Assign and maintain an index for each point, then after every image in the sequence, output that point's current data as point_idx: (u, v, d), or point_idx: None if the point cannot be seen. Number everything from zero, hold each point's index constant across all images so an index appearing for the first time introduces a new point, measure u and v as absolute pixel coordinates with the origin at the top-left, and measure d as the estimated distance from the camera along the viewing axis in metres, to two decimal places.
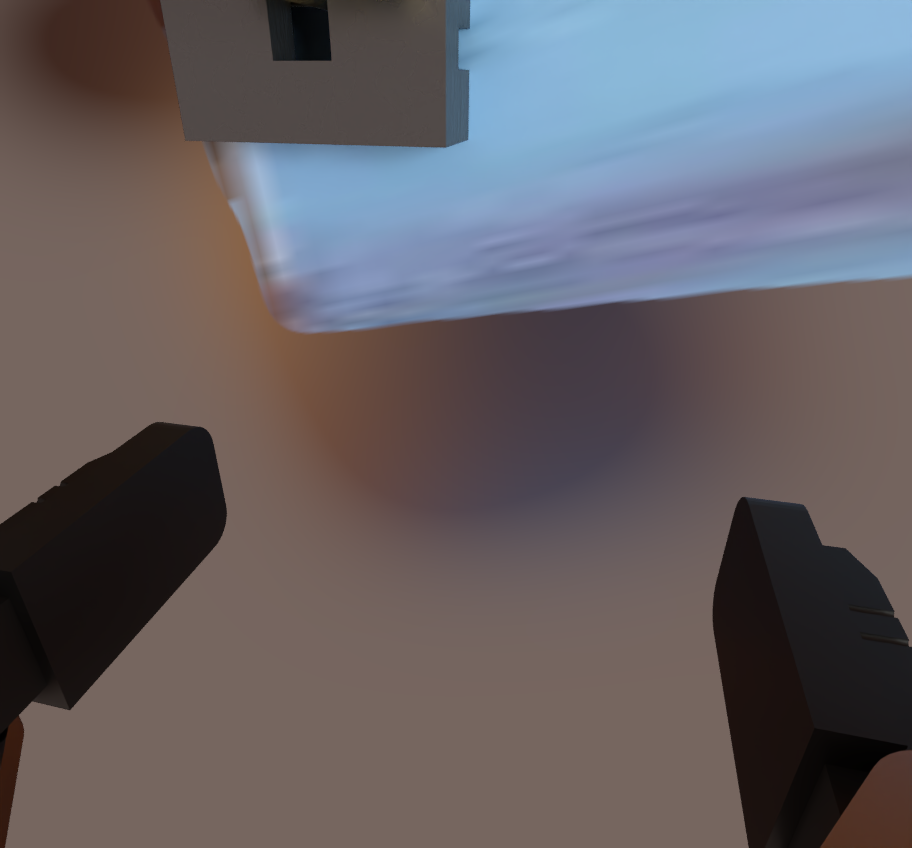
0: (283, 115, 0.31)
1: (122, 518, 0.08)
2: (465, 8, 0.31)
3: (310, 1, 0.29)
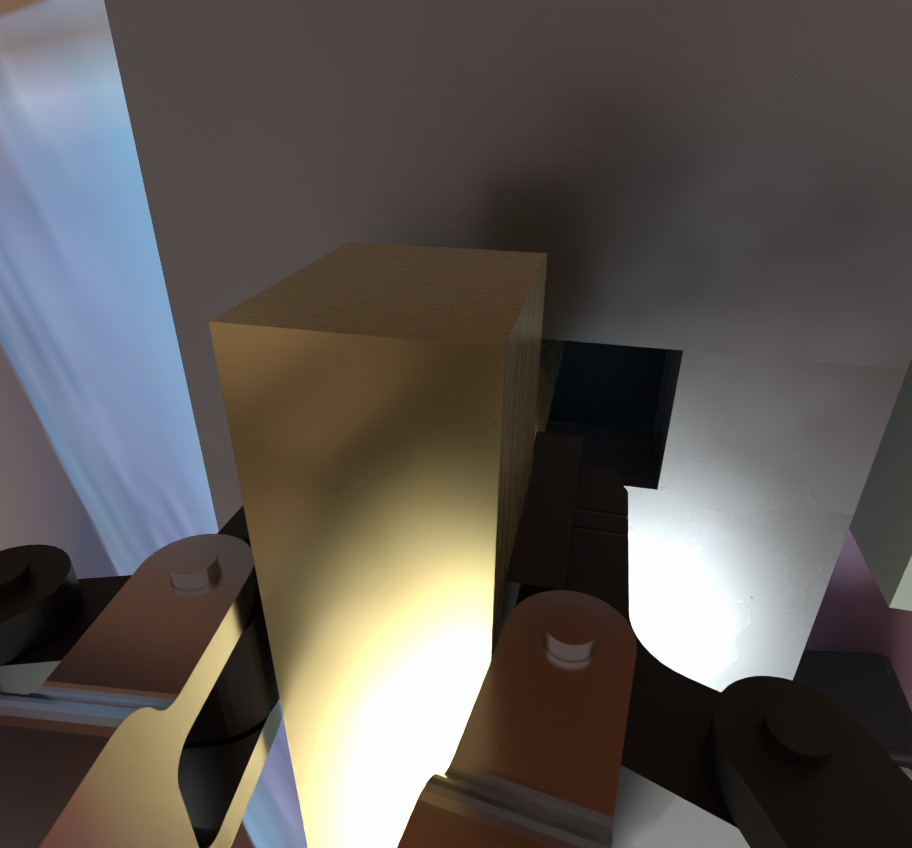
0: None
1: None
2: None
3: None
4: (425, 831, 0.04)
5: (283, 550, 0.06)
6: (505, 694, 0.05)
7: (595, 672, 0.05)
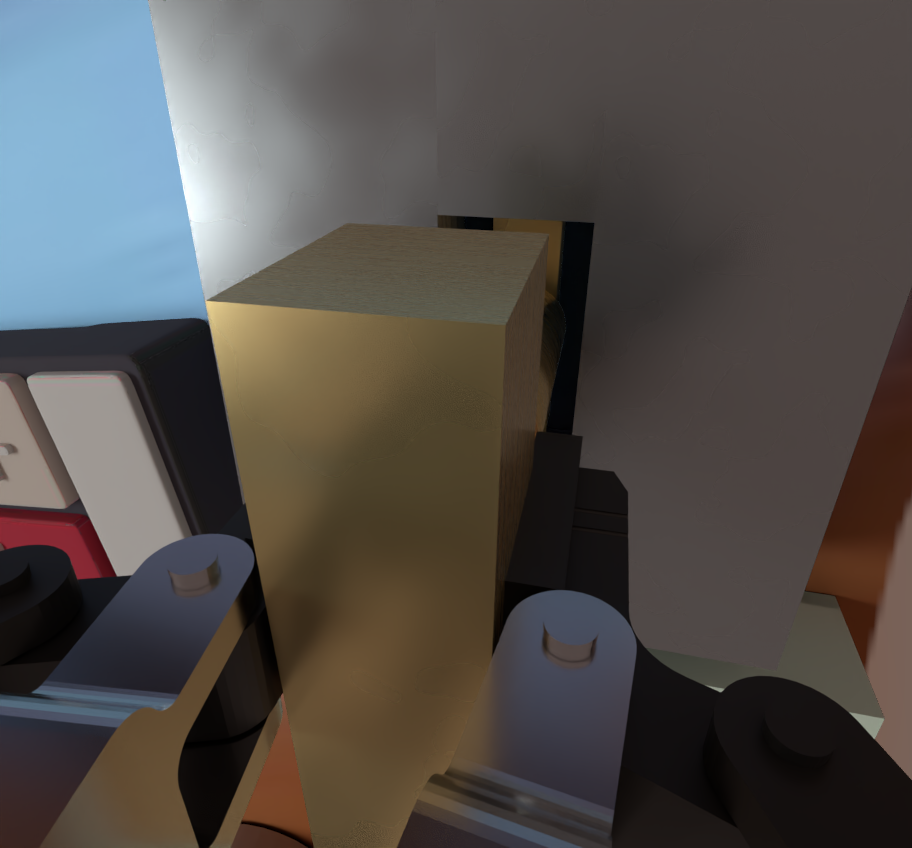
0: (595, 78, 0.11)
1: None
2: None
3: None
4: (426, 831, 0.04)
5: (283, 534, 0.06)
6: (505, 694, 0.05)
7: (595, 672, 0.05)
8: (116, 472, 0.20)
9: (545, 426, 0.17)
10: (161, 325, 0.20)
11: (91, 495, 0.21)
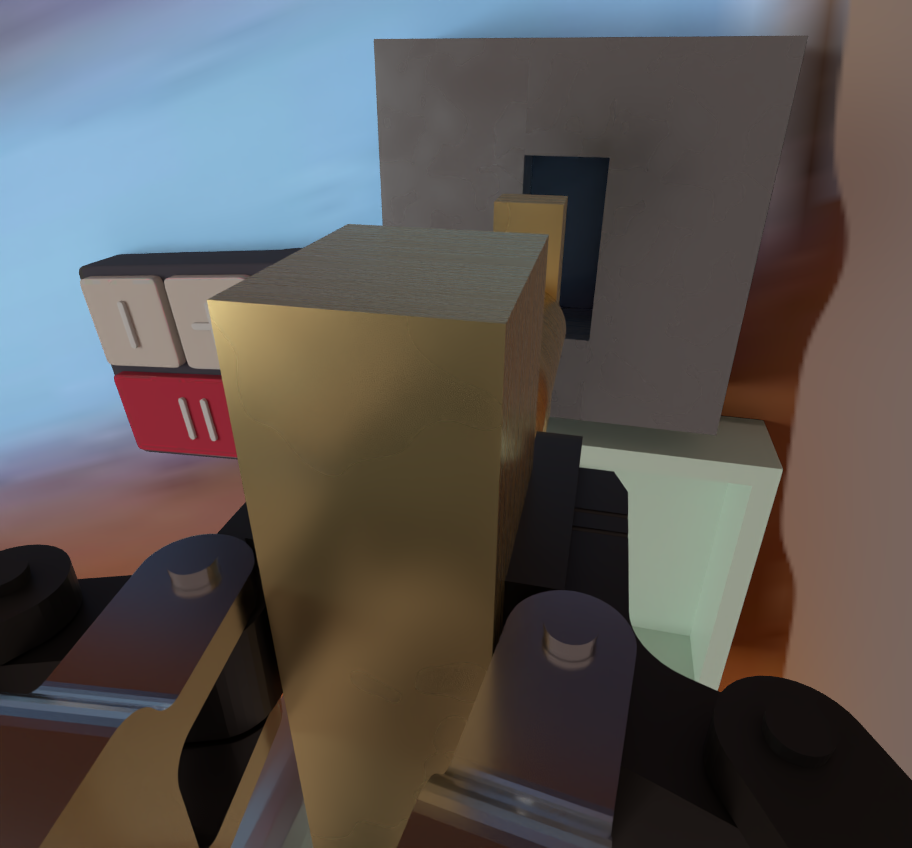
0: (611, 81, 0.21)
1: None
2: None
3: None
4: (425, 832, 0.04)
5: (283, 533, 0.06)
6: (505, 694, 0.05)
7: (595, 672, 0.05)
8: None
9: (545, 428, 0.17)
10: None
11: None
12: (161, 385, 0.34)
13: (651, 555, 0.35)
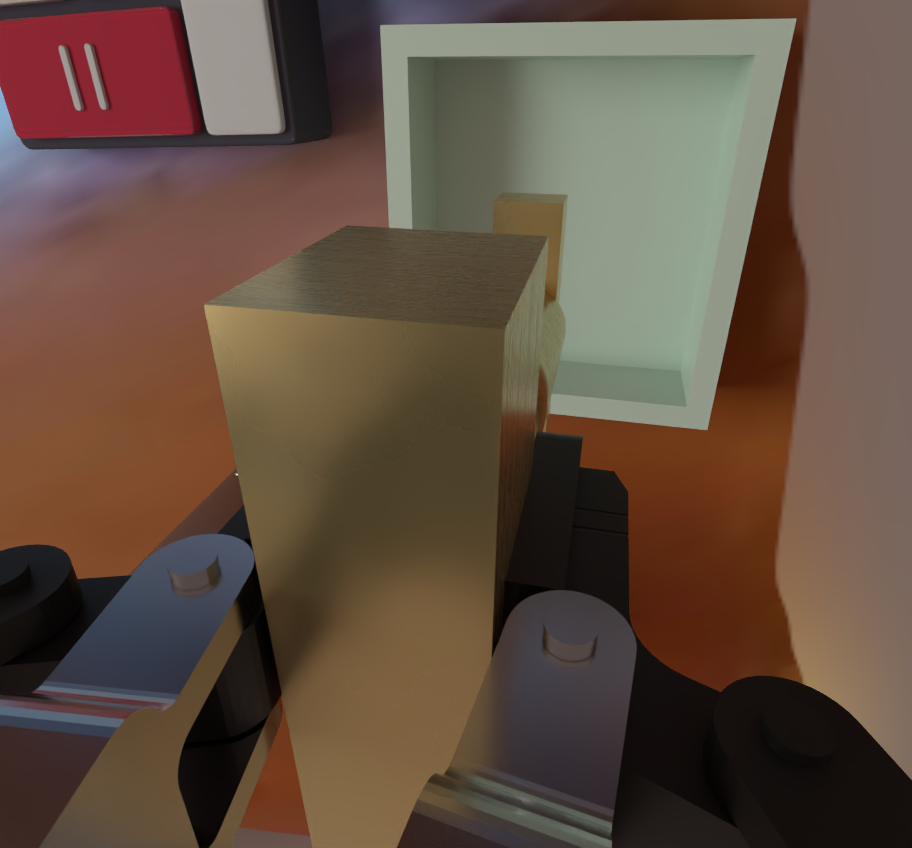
0: None
1: None
2: None
3: None
4: (425, 831, 0.04)
5: (283, 538, 0.06)
6: (504, 693, 0.05)
7: (594, 671, 0.05)
8: None
9: (545, 427, 0.17)
10: None
11: None
12: (38, 30, 0.27)
13: (631, 255, 0.28)
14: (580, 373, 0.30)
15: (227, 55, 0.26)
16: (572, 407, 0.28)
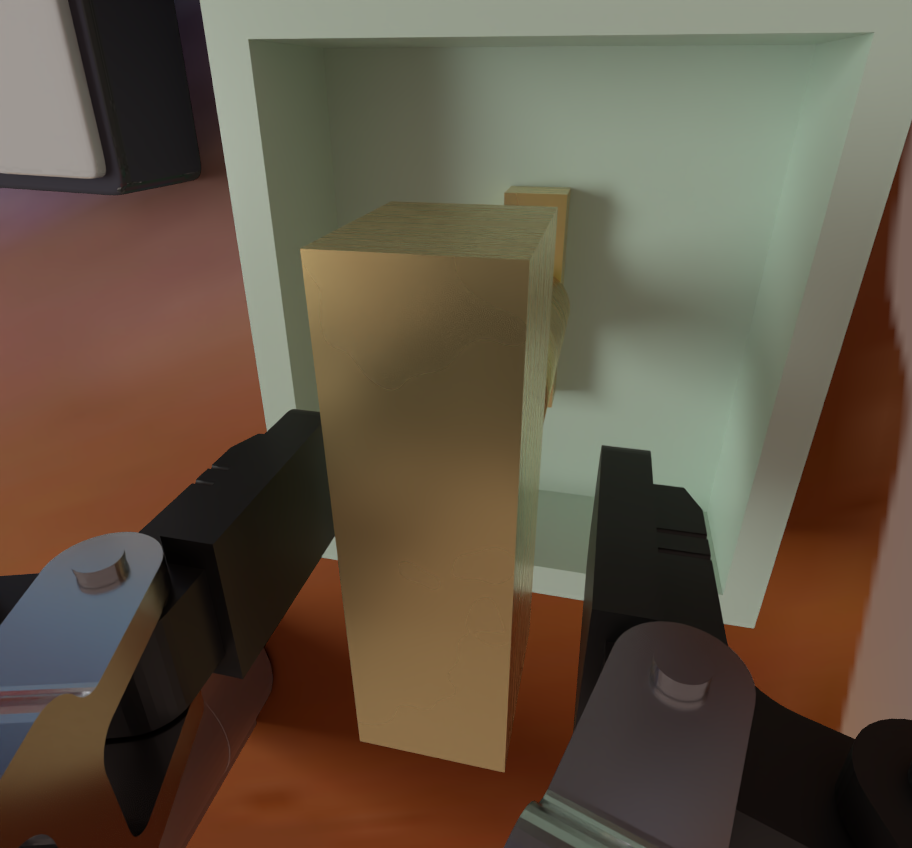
0: None
1: (282, 498, 0.09)
2: None
3: None
4: None
5: (350, 442, 0.08)
6: (624, 740, 0.05)
7: (716, 715, 0.05)
8: None
9: (551, 401, 0.19)
10: None
11: None
12: None
13: (635, 348, 0.19)
14: (559, 516, 0.20)
15: (5, 50, 0.16)
16: (544, 583, 0.18)
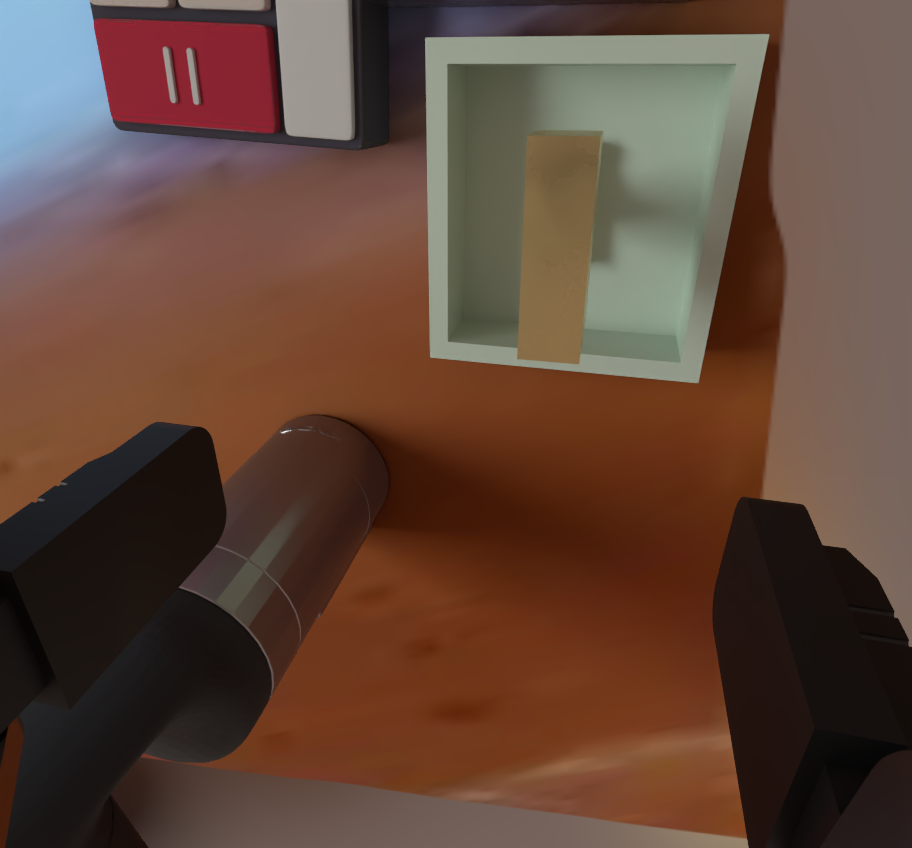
0: None
1: (122, 518, 0.08)
2: None
3: None
4: None
5: (533, 207, 0.22)
6: None
7: None
8: None
9: None
10: None
11: None
12: (145, 31, 0.32)
13: (634, 233, 0.33)
14: (589, 337, 0.35)
15: (312, 71, 0.30)
16: (582, 364, 0.33)
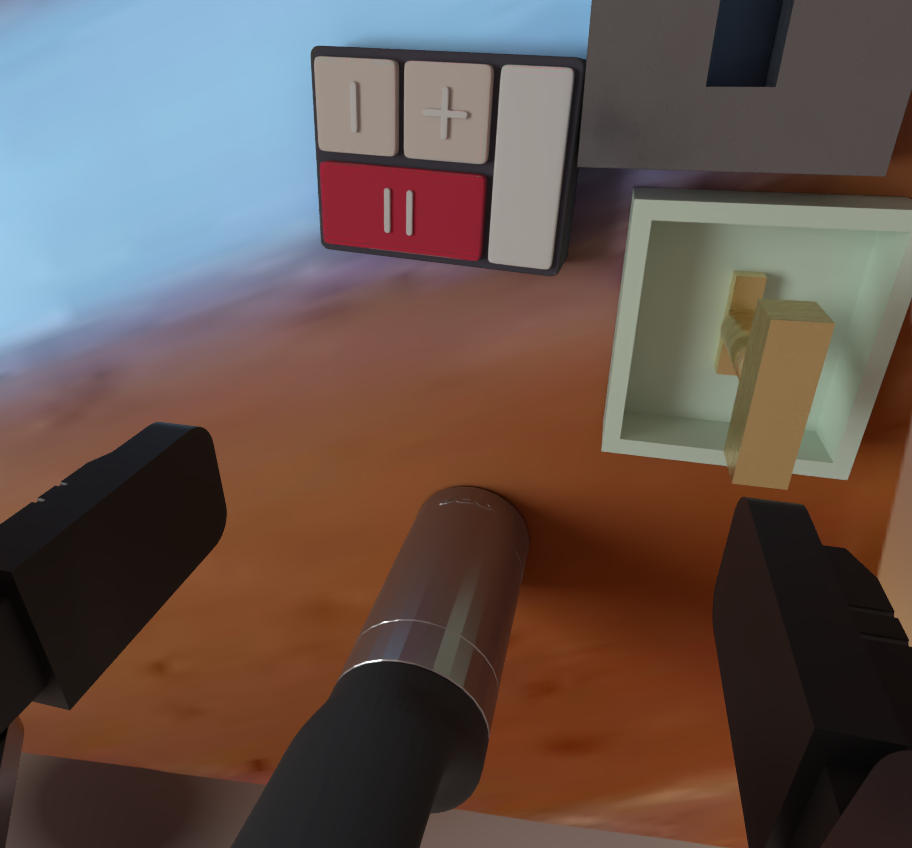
0: None
1: (122, 518, 0.08)
2: None
3: (728, 353, 0.34)
4: None
5: (767, 371, 0.27)
6: None
7: None
8: (535, 138, 0.33)
9: None
10: None
11: (506, 155, 0.34)
12: (369, 174, 0.36)
13: None
14: None
15: (520, 213, 0.35)
16: None
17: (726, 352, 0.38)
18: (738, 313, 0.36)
